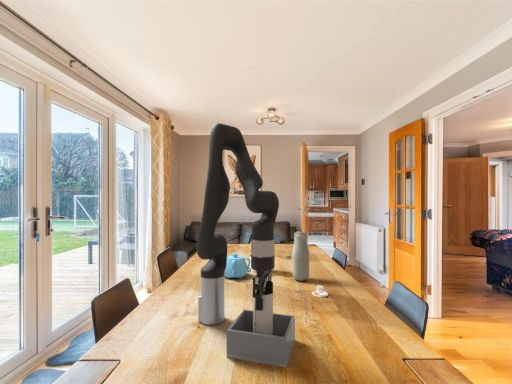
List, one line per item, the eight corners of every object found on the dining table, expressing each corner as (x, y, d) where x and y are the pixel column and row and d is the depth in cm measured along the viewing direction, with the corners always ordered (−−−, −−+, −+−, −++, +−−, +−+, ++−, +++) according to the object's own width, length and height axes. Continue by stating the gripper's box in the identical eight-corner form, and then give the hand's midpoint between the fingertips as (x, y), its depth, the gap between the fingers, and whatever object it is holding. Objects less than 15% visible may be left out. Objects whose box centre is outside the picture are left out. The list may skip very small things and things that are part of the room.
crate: (226, 357, 84) (226, 330, 84) (244, 332, 99) (244, 309, 99) (286, 367, 79) (286, 338, 79) (294, 339, 94) (294, 315, 94)
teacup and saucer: (328, 298, 133) (328, 290, 133) (311, 297, 135) (311, 289, 135) (327, 292, 142) (327, 284, 142) (311, 291, 144) (311, 283, 144)
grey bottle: (308, 278, 166) (308, 230, 166) (310, 283, 156) (310, 232, 156) (291, 277, 167) (291, 230, 167) (292, 282, 157) (292, 232, 157)
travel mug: (271, 339, 93) (272, 278, 93) (273, 349, 86) (274, 284, 86) (252, 339, 93) (253, 278, 93) (253, 350, 86) (253, 284, 86)
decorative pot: (253, 277, 168) (254, 254, 168) (230, 282, 158) (231, 257, 158) (238, 271, 181) (239, 250, 181) (216, 275, 171) (216, 253, 172)
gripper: (257, 249, 97) (257, 296, 97) (244, 257, 84) (244, 312, 84) (278, 250, 95) (279, 298, 95) (268, 259, 82) (268, 315, 81)
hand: (262, 304), depth 89 cm, fingers open, 8 cm apart
